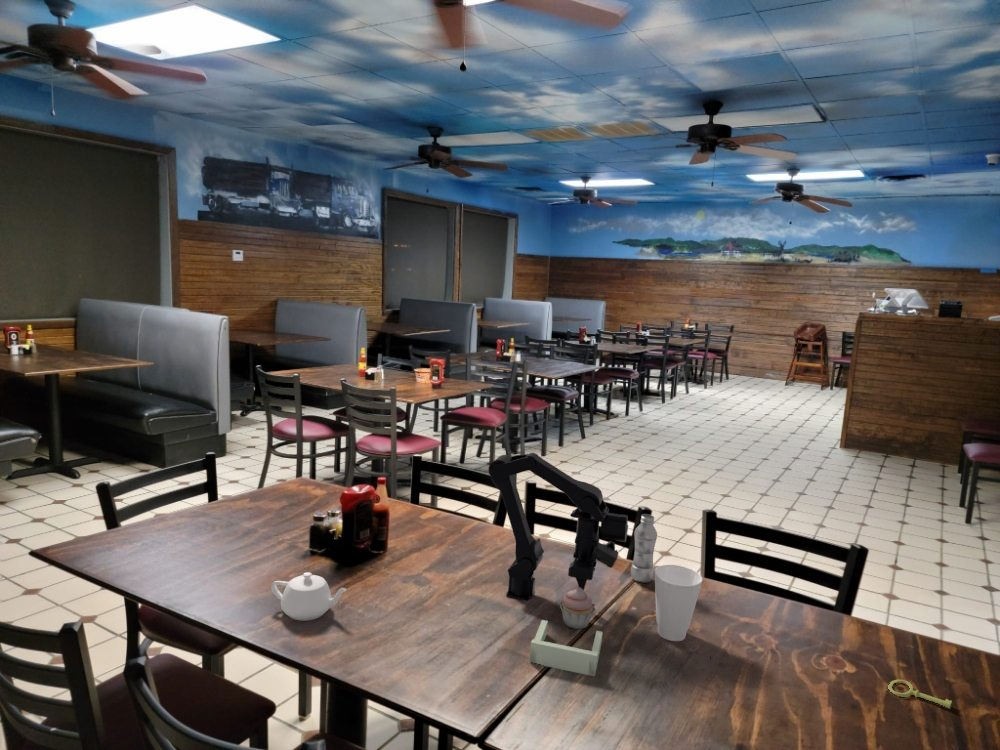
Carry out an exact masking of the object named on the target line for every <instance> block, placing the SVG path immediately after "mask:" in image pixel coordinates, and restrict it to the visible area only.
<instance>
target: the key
mask: <svg viewBox="0 0 1000 750" xmlns="http://www.w3.org/2000/svg"><path fill="white" fill-rule="evenodd" d="M897 682H903V683H906V684H907V685H908V686H909V688H910V689H909V688H908V690H907V691H906V692H898V691H895V690H894V688H892V686H893V684H894V683H897ZM889 683H890V684H889ZM889 683H888V684H889V685H888V684H887V686H888V689H889V690H890V692H892V693H893V694H895V695H897V696H901V697H908V696H910V695H915V697H921V698H924V699H926V700H929V701H933V702H935V703H938V704H940V705H939V706H941V705H943V706H942V707H944V706H945V707H944V708H947V709H951V708H952V703H953V701H952V700H951V699H950V700H949V699H948V698H946V699H945V700H943V699H940V698H938V697H934V696H931V695H928V694H925V693H922V692H920V691H919V690H918V689H916V690H914V686H913V685H912V683H911V682H910V681H907V680H905V679H895V680H894V679H893V680H892V681H890V682H889ZM893 687H894V686H893ZM888 689H887V690H888ZM890 692H889V693H890ZM915 697H914V698H915ZM926 700H925V701H926ZM929 701H928V702H929ZM935 703H934V704H935ZM938 704H937V705H938ZM950 707H951V708H950Z"/></svg>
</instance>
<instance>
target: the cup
mask: <svg viewBox="0 0 1000 750" xmlns="http://www.w3.org/2000/svg"><path fill="white" fill-rule="evenodd" d="M653 570H654V590H655V591H654V592H655V593H654V594H655V618H656V619H655V620H656V625H657V633H658V635H659V636H660V637H661V638H663V639H665V640H666V641H667V640H668V641H669V642H670V641H672V642H680V641H681V642H682V641H684V640H685V639H686V636H687V633H688V630H690V629H689V628H690V625H691V622H692V618H693V616H694V611H695V608H696V604H697V602H698V601H697V600H698V597H699V594H700V591H701V587H702V584H703V581H704V579H703V576H702V575H701V574H700V573H699V572H697V571H696V570H694V569H692V568H689V567H686V566H682V565H677V564H662V565H658V566H657V567H656V568H655V569H653Z"/></svg>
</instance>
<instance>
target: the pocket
mask: <svg viewBox="0 0 1000 750" xmlns="http://www.w3.org/2000/svg"><path fill="white" fill-rule="evenodd" d="M548 625H549V621H548V620H544V619H541V621H540V625H539V626H538V629H537V632H536V634H535V636H534V638H533V639H531V642H530V651H529V652H530V653H529V662H533V663H532V664H534V663H537V664H536V665H538V664H541V665H540V666H543V665H544V666H543V667H548V668H553V669H558V670H562V671H568V672H572V673H577V674H581V675H584V676H585V675H586V676H591V677H596V672H597V668H598V663H599V658H600V654H601V648H602V643H603V631H600V630H596V631H595V636H594V641H593V645H592V648H591V650H587V649H584V648H578V647H573V646H569V645H563V644H558V643H555V642H554V643H553V642H549V641H546V638H547V635H548ZM544 640H545V641H544Z"/></svg>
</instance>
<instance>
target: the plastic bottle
mask: <svg viewBox="0 0 1000 750" xmlns="http://www.w3.org/2000/svg"><path fill="white" fill-rule="evenodd" d="M640 517H641V518H640V523H639V525H638V526H637V527H636V528H635V530H634V554H633V560H632V564H631V568H630V576H631V578H632V579H633V580H634V581H636V582H638V583H647V584H648V583H650V582H651V581H652V580H653V578H654V576H655V574H654V570H655V569H654V552H655V546H656V543H657V539H658V533H657V532H658V531H657V530H656V527H655V526H654V524H655V516H654V515H652V514H647V513H644V514H643V513H642V514H641V516H640Z"/></svg>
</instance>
